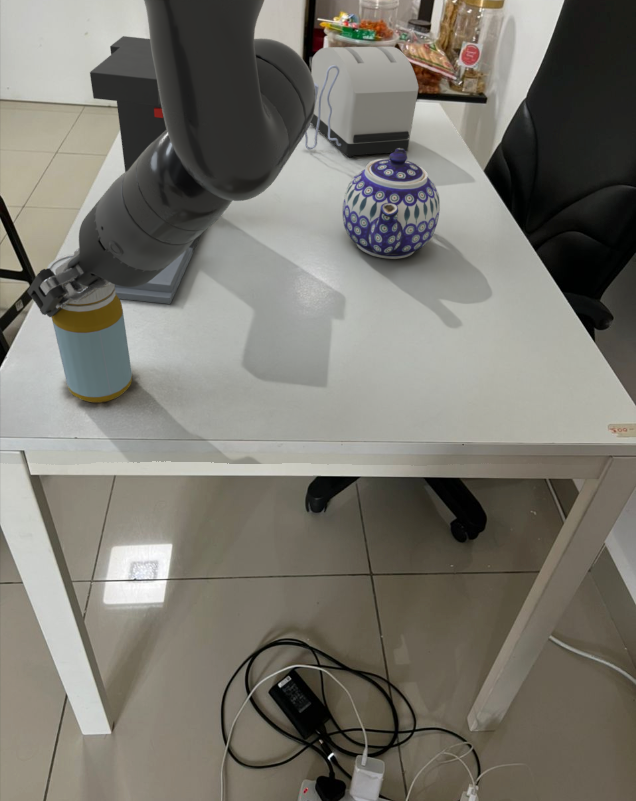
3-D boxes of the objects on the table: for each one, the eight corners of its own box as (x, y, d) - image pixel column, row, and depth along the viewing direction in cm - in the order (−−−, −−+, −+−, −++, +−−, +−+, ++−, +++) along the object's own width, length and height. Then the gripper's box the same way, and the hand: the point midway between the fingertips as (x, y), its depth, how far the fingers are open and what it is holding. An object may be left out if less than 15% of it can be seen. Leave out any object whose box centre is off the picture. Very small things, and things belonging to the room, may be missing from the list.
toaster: (412, 156, 134) (429, 65, 123) (301, 165, 126) (308, 68, 114) (364, 118, 150) (375, 34, 138) (262, 124, 141) (264, 35, 130)
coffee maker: (170, 304, 86) (153, 104, 69) (81, 294, 86) (43, 92, 69) (212, 210, 108) (206, 41, 91) (140, 202, 108) (122, 32, 91)
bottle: (86, 414, 69) (61, 295, 59) (57, 380, 73) (29, 263, 63) (144, 389, 73) (129, 273, 63) (114, 358, 77) (95, 244, 67)
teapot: (353, 205, 114) (363, 118, 104) (436, 219, 112) (455, 132, 103) (324, 273, 95) (333, 176, 86) (423, 291, 94) (445, 194, 84)
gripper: (180, 163, 57) (109, 238, 70) (39, 213, 48) (-12, 289, 61) (224, 237, 59) (147, 298, 71) (96, 299, 50) (34, 357, 62)
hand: (74, 294), depth 66 cm, fingers closed on bottle, 6 cm apart
